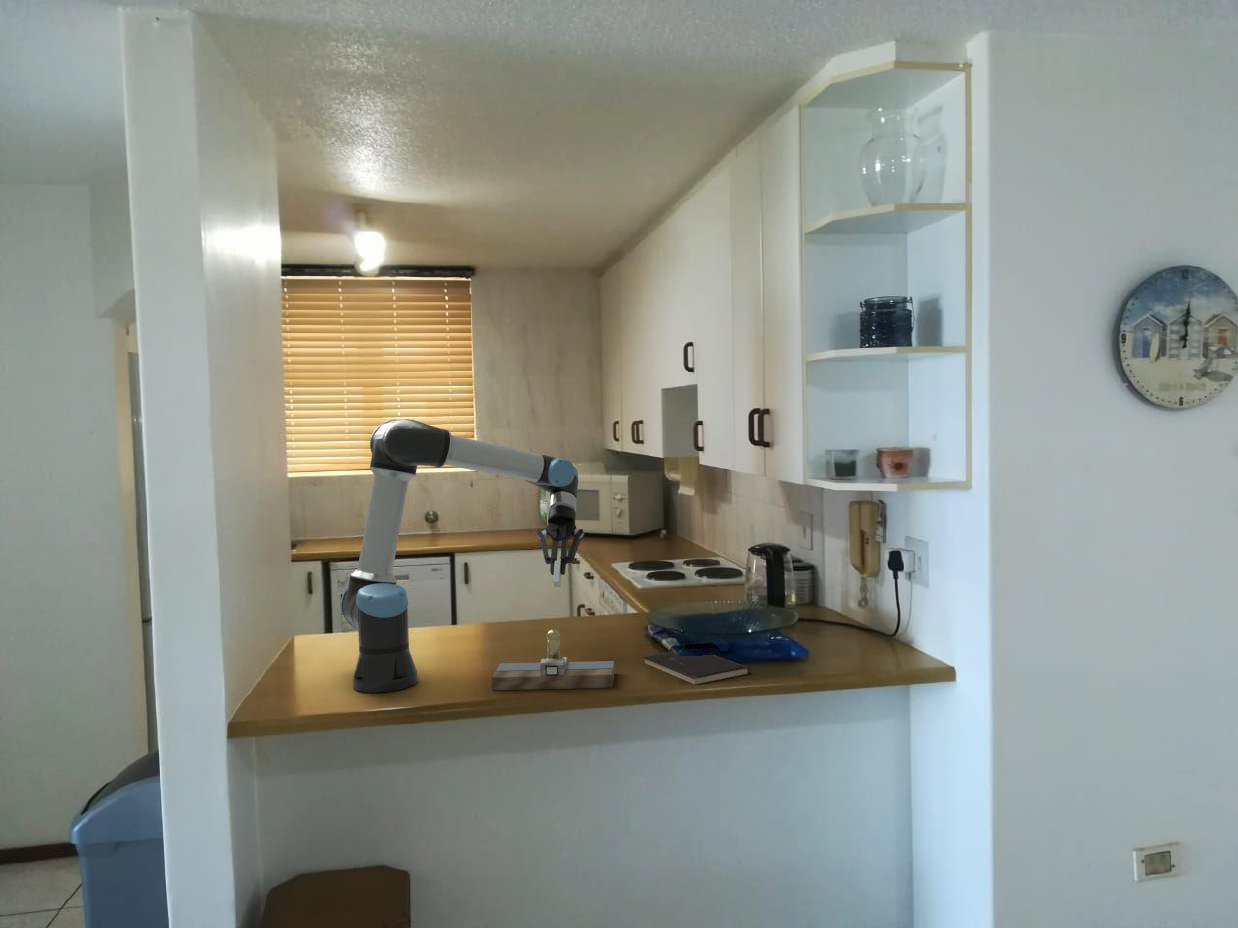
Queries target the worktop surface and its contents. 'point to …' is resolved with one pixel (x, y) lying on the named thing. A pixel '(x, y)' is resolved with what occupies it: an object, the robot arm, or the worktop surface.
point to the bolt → (553, 649)
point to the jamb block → (552, 678)
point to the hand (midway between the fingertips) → (556, 584)
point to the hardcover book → (696, 667)
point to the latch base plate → (567, 666)
